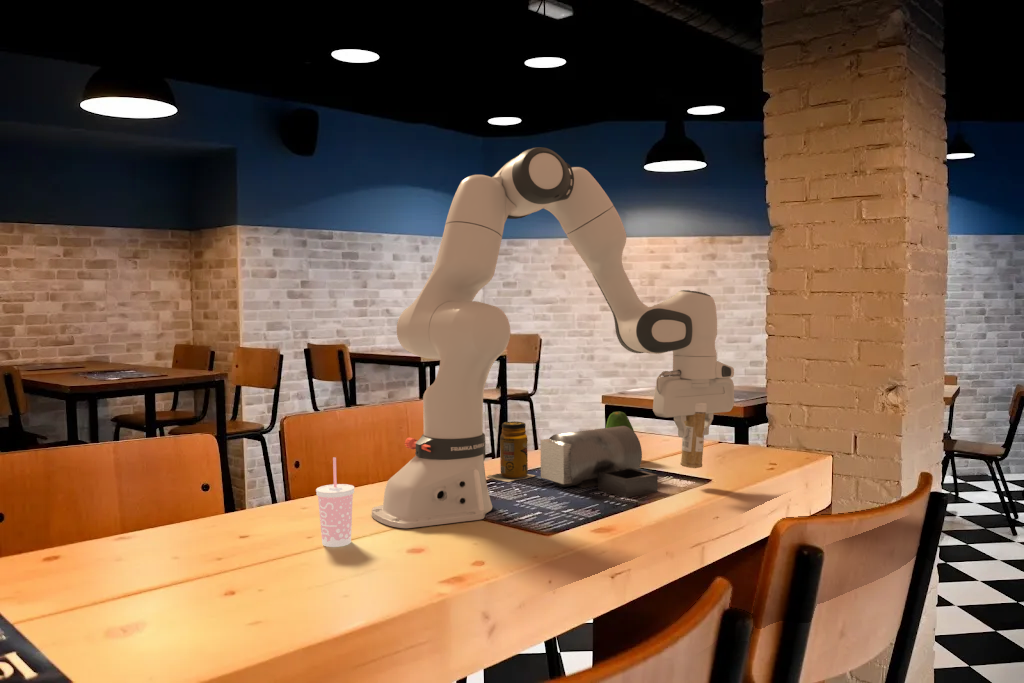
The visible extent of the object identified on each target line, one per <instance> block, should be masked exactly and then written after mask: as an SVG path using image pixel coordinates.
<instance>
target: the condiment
mask: <svg viewBox="0 0 1024 683" xmlns="http://www.w3.org/2000/svg"><path fill="white" fill-rule="evenodd" d="M501 428H502V429H501V434H500V440H499V442H500V443H499V444H500V447H499V450H500V451H499V452H500V454H499V455H500V473H495V474H489V475H486V478H487V477H488V478H490V479H493V480H496V481H502V482H507V483H510V482H515V481H519V480H525V479H528V478H534V477H536V476H537V475H535V474H529V473H528V468H529V467H528V466H529V464H528V463H529V462H528V460H529V459H528V435H527V434H526V432H527V429H526V428H527V427H526V423H525V422H523V421H504V422H502V424H501Z"/></svg>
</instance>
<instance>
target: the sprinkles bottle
mask: <svg viewBox="0 0 1024 683" xmlns="http://www.w3.org/2000/svg"><path fill="white" fill-rule="evenodd" d="M706 411H707V404H706V403H696V404H695V412H696V413H695V414H694V415H688V416H686V421H684V423H685V426H686V428H687V429H689V436H688V437H685V438H681V439H682V441H681V459H680V465H681V466H682V467H685V468H690V469H699V468H700V469H701V468H703V455H704V453H703V452H704V440H705V435H704V425H705V414H706V413H705V412H706Z"/></svg>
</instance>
